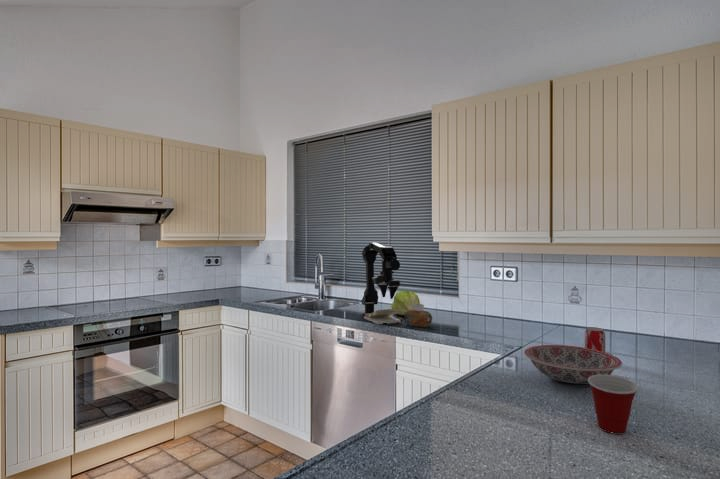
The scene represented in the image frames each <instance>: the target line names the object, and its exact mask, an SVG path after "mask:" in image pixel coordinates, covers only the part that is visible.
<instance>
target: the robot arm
mask: <svg viewBox="0 0 720 479" xmlns="http://www.w3.org/2000/svg"><path fill="white" fill-rule="evenodd" d="M378 255H379V257H381V259H380V261H381V271H380V273H379V274H377V275H375V265H374V264H375V262H376V260H377V256H378ZM361 256H362V259H363V262H364V263H365V279H366V280H365V282H366V285H365V286H366V287H365V289H364V292H363V296H362V299H361V300H360V301H361V305H363V306H364V312H362V314H363V315H364V316H365V314H368V313H373V312H375V305H378V302H379V295H378V294H379V291H378V290H377V289H376V288H375V285H376V286H377V287H378V288H379V290H380V294H381V296H382V298H385V297H386V294H387V290H388V292H389V297H390V300H394V296H395V294H396V293H397V290H398V289H399V288H400V286H401V282H400V280H397V279H394V278H393V277H394V276H393V274H395V271H398V270H399V269H400V267H401V262H400V261H399V260H397V259H398V257H397V254H396V251H395V248H394V247H393V246H384V245H383V244H380V243H378V242H376V241H375V242H373V241H372V242H369V244H367V245H366V246H365V247H363V249H362V252H361Z"/></svg>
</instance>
